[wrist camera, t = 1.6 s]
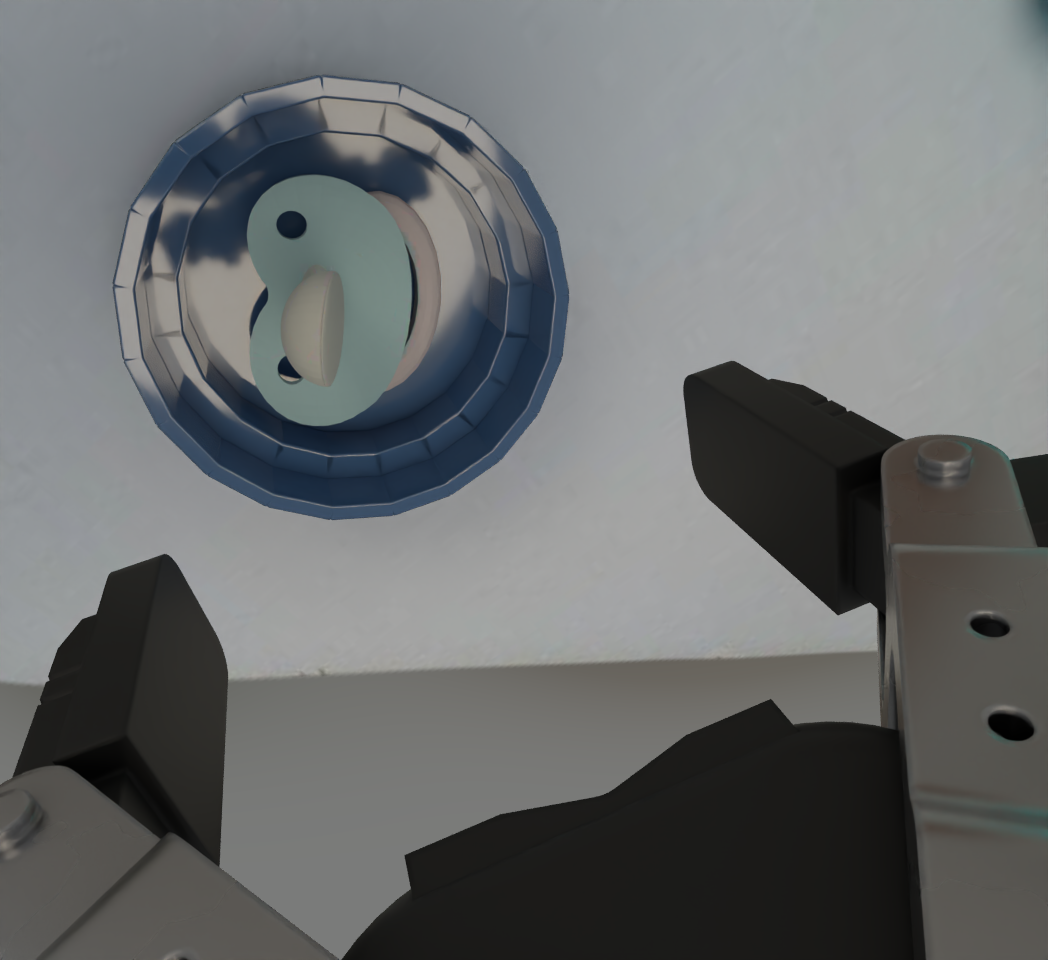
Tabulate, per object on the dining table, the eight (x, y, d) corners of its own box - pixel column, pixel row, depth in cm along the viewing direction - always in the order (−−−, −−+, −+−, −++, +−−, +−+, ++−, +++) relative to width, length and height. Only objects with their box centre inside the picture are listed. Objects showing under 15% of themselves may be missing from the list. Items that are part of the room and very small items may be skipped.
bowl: (234, 505, 27) (232, 573, 23) (56, 139, 21) (14, 151, 17) (552, 397, 29) (598, 444, 25) (474, 35, 23) (519, 24, 19)
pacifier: (444, 181, 24) (243, 160, 22) (507, 208, 19) (251, 183, 17) (427, 400, 27) (249, 400, 25) (478, 475, 22) (258, 483, 20)
